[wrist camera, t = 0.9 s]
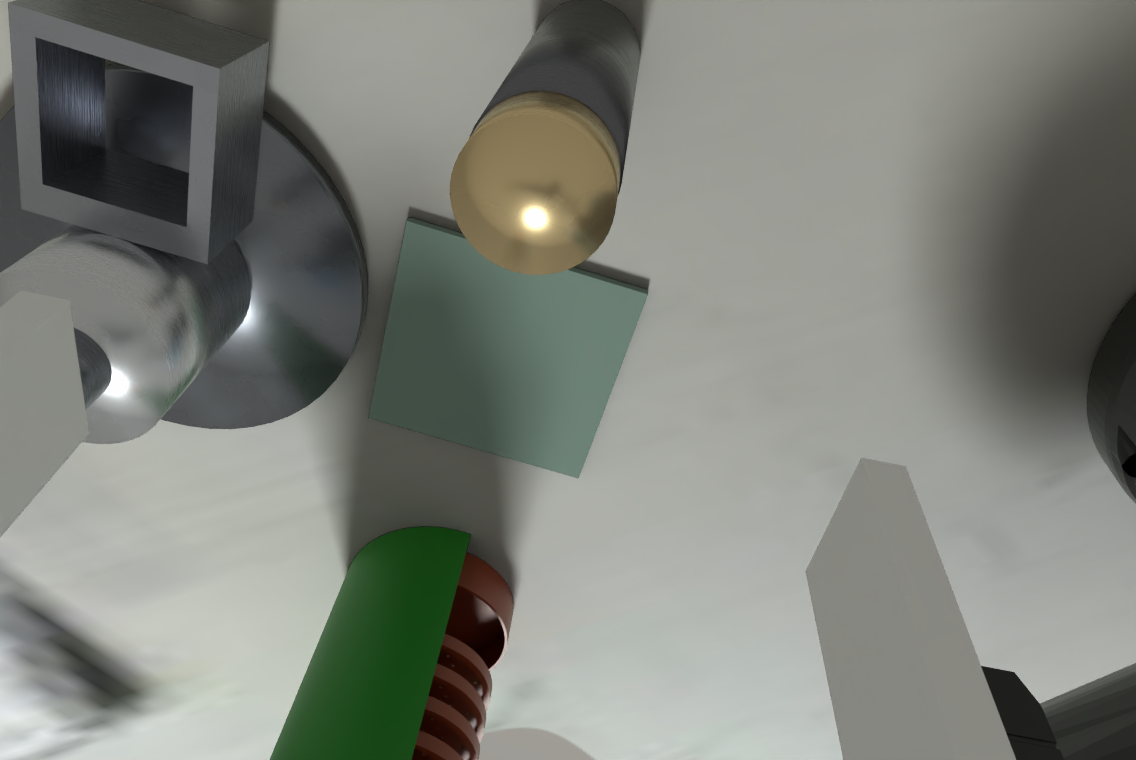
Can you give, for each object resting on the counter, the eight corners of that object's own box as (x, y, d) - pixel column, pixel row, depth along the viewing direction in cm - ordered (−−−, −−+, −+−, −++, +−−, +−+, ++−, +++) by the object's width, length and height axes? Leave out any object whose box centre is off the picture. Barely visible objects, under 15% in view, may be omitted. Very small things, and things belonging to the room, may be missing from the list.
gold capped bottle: (654, 17, 31) (641, 143, 19) (620, 123, 33) (589, 296, 21) (548, -17, 30) (467, 88, 19) (521, 91, 32) (433, 249, 21)
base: (397, 138, 34) (390, 146, 33) (340, 455, 42) (333, 468, 42) (-24, 7, 33) (-43, 12, 32) (5, 359, 41) (-9, 371, 41)
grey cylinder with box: (274, 43, 31) (104, 139, 22) (244, 366, 39) (107, 540, 29) (75, -20, 31) (-186, 51, 21) (84, 320, 38) (-106, 481, 29)
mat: (648, 290, 36) (648, 294, 36) (579, 472, 41) (578, 478, 41) (409, 217, 35) (406, 220, 35) (370, 412, 41) (368, 417, 40)
